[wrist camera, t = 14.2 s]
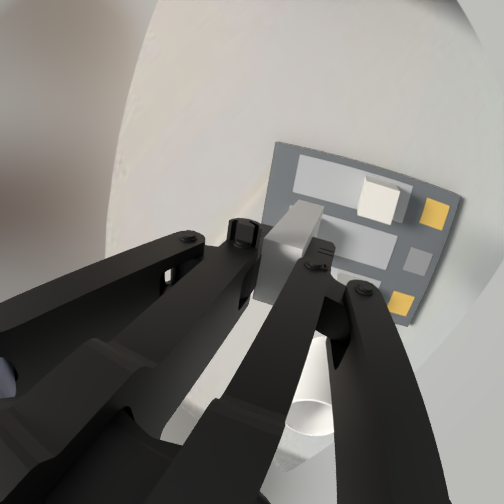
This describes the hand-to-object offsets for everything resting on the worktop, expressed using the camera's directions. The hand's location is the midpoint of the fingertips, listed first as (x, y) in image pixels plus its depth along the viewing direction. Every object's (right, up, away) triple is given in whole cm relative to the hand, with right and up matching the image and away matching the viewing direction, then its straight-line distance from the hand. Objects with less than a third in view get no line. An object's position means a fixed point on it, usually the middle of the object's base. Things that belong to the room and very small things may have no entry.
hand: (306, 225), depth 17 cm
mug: (+10, -18, +25) cm, 32 cm away
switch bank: (+9, 0, +17) cm, 19 cm away
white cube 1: (+10, +5, +13) cm, 17 cm away
